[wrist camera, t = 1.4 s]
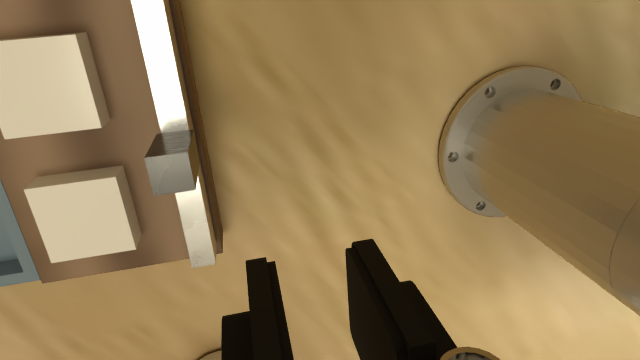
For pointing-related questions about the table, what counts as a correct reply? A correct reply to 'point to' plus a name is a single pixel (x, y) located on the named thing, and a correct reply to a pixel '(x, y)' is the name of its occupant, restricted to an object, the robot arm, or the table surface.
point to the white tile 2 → (84, 213)
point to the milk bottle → (212, 356)
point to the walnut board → (103, 133)
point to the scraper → (174, 131)
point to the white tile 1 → (49, 86)
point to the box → (13, 247)
